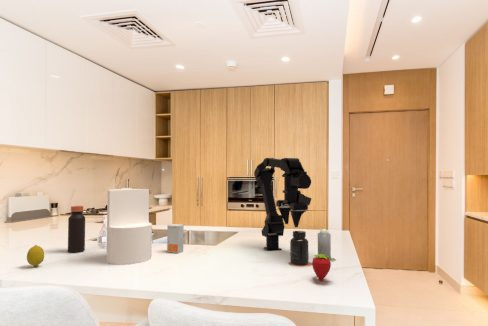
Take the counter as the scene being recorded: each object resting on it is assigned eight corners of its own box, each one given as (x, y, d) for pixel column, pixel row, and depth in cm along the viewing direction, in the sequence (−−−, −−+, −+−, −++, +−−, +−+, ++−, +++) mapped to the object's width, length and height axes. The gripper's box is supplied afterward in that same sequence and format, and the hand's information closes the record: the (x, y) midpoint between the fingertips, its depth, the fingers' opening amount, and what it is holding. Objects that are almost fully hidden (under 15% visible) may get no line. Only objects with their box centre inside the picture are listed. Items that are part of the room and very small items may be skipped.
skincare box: (166, 252, 148) (166, 225, 148) (172, 250, 152) (172, 223, 152) (178, 253, 146) (178, 225, 146) (183, 251, 150) (183, 224, 150)
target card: (278, 261, 133) (278, 259, 133) (327, 257, 140) (327, 255, 140) (292, 269, 121) (292, 267, 121) (345, 264, 128) (345, 263, 128)
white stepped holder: (98, 259, 136) (99, 189, 137) (137, 252, 149) (138, 188, 150) (119, 267, 124) (120, 191, 125) (159, 258, 137) (160, 189, 138)
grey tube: (315, 258, 135) (315, 228, 136) (326, 257, 137) (326, 227, 137) (321, 261, 130) (321, 230, 131) (333, 260, 132) (332, 229, 132)
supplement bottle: (311, 265, 125) (311, 232, 125) (295, 266, 123) (294, 233, 123) (303, 260, 131) (303, 229, 132) (287, 261, 130) (287, 230, 130)
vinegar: (87, 249, 153) (88, 205, 154) (79, 253, 146) (79, 207, 147) (73, 249, 154) (74, 205, 154) (64, 253, 147) (65, 207, 147)
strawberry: (330, 277, 112) (329, 247, 112) (331, 285, 104) (331, 252, 104) (311, 276, 113) (311, 246, 113) (312, 284, 105) (312, 251, 106)
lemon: (25, 269, 121) (26, 247, 121) (27, 265, 126) (27, 244, 126) (43, 267, 124) (44, 245, 124) (44, 264, 129) (45, 243, 129)
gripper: (319, 188, 134) (320, 228, 133) (298, 187, 151) (298, 221, 151) (294, 189, 130) (294, 229, 130) (275, 187, 148) (275, 223, 148)
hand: (291, 225), depth 140 cm, fingers open, 9 cm apart
